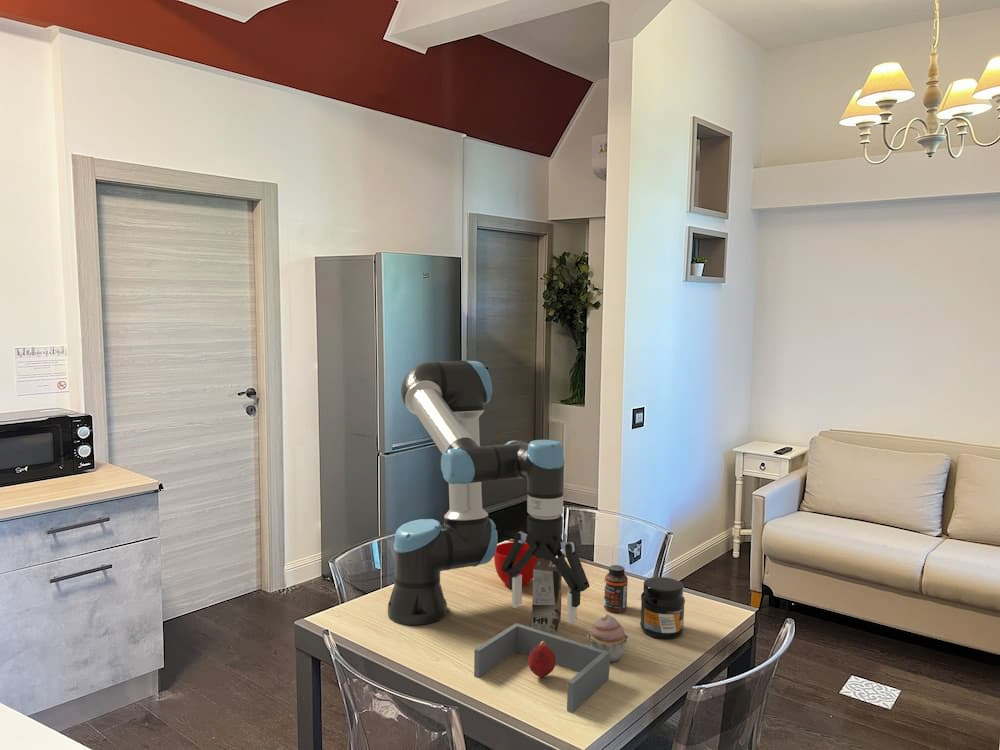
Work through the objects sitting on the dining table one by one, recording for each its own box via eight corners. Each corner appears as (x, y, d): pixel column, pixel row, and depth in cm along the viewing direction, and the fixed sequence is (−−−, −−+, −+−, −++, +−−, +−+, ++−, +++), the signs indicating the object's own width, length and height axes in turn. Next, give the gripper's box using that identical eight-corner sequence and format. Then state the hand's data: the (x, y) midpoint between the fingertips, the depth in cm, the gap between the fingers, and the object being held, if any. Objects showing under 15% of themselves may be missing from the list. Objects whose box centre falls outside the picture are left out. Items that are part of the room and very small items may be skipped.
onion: (546, 687, 153) (547, 650, 152) (523, 679, 156) (523, 643, 155) (559, 675, 158) (560, 640, 157) (536, 668, 161) (537, 633, 160)
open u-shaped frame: (474, 675, 157) (474, 649, 156) (515, 647, 170) (515, 623, 169) (572, 712, 143) (573, 683, 143) (608, 679, 156) (609, 652, 156)
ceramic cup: (553, 593, 203) (554, 558, 202) (492, 591, 203) (493, 556, 202) (551, 575, 216) (552, 542, 215) (493, 574, 216) (494, 541, 215)
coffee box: (557, 636, 176) (558, 571, 175) (530, 633, 178) (532, 569, 176) (561, 620, 185) (563, 558, 184) (536, 617, 187) (537, 556, 185)
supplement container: (669, 644, 173) (671, 595, 172) (631, 631, 180) (633, 583, 179) (691, 630, 180) (693, 583, 179) (654, 617, 188) (655, 572, 186)
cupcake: (584, 646, 171) (585, 605, 170) (624, 647, 171) (625, 606, 170) (588, 665, 162) (589, 622, 161) (630, 667, 162) (631, 623, 161)
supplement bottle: (601, 611, 191) (602, 569, 190) (606, 602, 197) (608, 561, 196) (623, 615, 189) (625, 572, 188) (628, 606, 194) (630, 565, 193)
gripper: (486, 509, 157) (485, 604, 159) (589, 529, 143) (587, 634, 145) (505, 501, 163) (505, 594, 165) (606, 520, 149) (604, 621, 151)
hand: (543, 613), depth 155 cm, fingers open, 13 cm apart
